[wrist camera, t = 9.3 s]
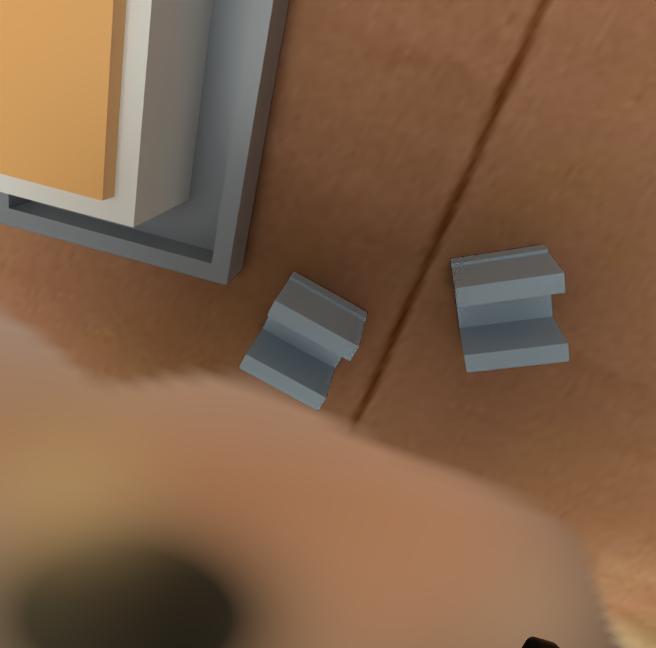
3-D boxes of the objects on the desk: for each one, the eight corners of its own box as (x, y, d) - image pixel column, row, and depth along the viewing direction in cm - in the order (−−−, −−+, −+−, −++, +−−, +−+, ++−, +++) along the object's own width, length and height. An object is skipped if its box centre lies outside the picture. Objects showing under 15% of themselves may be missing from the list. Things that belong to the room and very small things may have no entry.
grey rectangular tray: (307, -107, 15) (295, -130, 14) (241, 268, 20) (226, 285, 18) (27, -176, 16) (-19, -206, 14) (26, 210, 20) (-9, 220, 19)
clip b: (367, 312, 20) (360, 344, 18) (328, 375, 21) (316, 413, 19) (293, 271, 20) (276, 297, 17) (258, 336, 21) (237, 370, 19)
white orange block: (218, -44, 16) (146, -88, 12) (188, 199, 19) (122, 233, 15) (83, -76, 16) (-35, -132, 12) (75, 169, 19) (-22, 194, 15)
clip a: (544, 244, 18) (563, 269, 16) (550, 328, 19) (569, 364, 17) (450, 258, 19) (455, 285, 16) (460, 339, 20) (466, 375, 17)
